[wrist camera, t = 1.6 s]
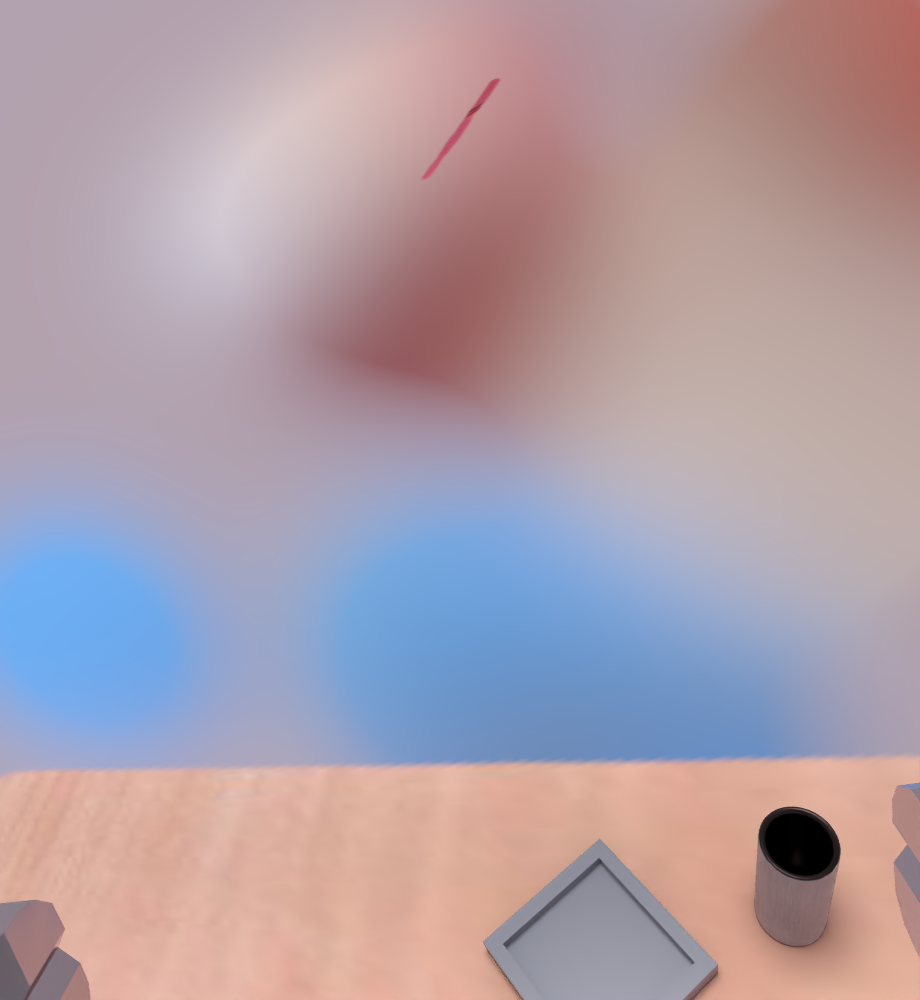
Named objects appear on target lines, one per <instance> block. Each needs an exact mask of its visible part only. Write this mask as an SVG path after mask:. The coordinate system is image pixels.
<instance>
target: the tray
mask: <svg viewBox="0 0 920 1000" xmlns="http://www.w3.org/2000/svg"><path fill="white" fill-rule="evenodd" d="M483 943H484V945H485V947H486V949H487V950H488V952H489V953H490V955H491V956H492V957H493V959H494V960H495V962H496V963H497V965H498V966H499V967H500V969H501V970H502V972H503V973H504V974H505V976H506V977H507V979H508V980H509V981H510V983H511V984H512V986H513V987H514V988H515V990H516V991H517V993H518V994H519V995H520V997H521V998H522V1000H692V999H693V998H694V997H695V995H696V994H697V993H698V992H699V991H700V990H701V989H702V988H703V987H704V986H705V985H706V984H707V983H708V982H709V981H710V980H711V979H712V978H713V977H714V976H715V975H716V974H717V973H718V964H717V963H716V962H715V961H714V960H713V959H712V958H711V957H710V956H709V955H708V954H707V953H706V951H705V950H704V949H703V948H702V947H701V946H700V945H699V944H698V943H697V942H696V941H695V940H694V939H693V938H692V937H691V935H690V934H689V933H688V932H687V931H686V930H685V929H684V928H683V927H682V926H681V925H680V924H679V923H678V922H677V920H676V919H675V918H674V917H673V916H672V915H671V914H670V913H669V912H668V911H667V910H666V909H665V908H664V907H663V906H662V904H661V903H660V902H659V901H658V900H657V899H656V898H655V897H654V896H653V895H652V894H651V893H650V892H649V891H648V890H647V888H646V887H645V886H644V885H643V884H642V883H641V882H640V881H639V880H638V879H637V878H636V877H635V876H634V875H633V874H632V872H631V871H630V870H629V869H628V868H627V867H626V866H625V865H624V864H623V863H622V862H621V861H620V860H619V859H618V858H617V856H616V855H615V854H614V853H613V852H612V851H611V850H610V849H609V848H608V847H607V846H606V845H605V844H604V843H603V842H602V840H601V839H599V840H598V841H597V842H595V843H594V844H593V845H592V846H591V847H590V848H589V849H587V850H586V851H585V852H584V853H583V854H582V855H581V856H580V857H578V858H577V859H576V860H575V861H574V862H573V863H572V864H570V865H569V866H568V867H567V868H566V869H565V870H564V871H563V872H561V873H560V874H559V875H558V876H557V877H556V878H555V879H554V880H552V881H551V882H550V883H549V884H548V885H547V886H546V887H544V888H543V889H542V890H541V891H540V892H539V893H538V894H537V895H535V896H534V897H533V898H532V899H531V900H530V901H529V902H527V903H526V904H525V905H524V906H523V907H522V908H521V909H520V910H518V911H517V912H516V913H515V914H514V915H513V916H512V917H510V918H509V919H508V920H507V921H506V922H505V923H504V924H503V925H501V926H500V927H499V928H498V929H497V930H496V931H495V932H493V933H492V934H491V935H490V936H489V937H488V938H487V939H486V940H484V941H483Z"/></svg>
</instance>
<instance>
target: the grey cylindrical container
mask: <svg viewBox="0 0 920 1000" xmlns="http://www.w3.org/2000/svg"><path fill="white" fill-rule="evenodd" d="M840 854H841V848H840V843H839V839H838V837H837V835H836V833H835V831H834V830H833V828H832V827H831V826H830V824H829V823H828V822H827V821H826V820H825V819H823V818H822V817H821V816H819V815H818V814H816V813H814V812H812V811H810V810H807V809H804V808H800V807H783V808H779V809H777V810H775V811H773V812H771V813H770V814H769V815H767V816H766V817H765V819H764V820H763V822H762V823H761V826H760V829H759V834H758V848H757V865H756V882H755V900H754V902H755V912H756V916H757V918H758V921H759V922H760V924H761V926H762V927H763V929H764V930H765V931H766V932H767V933H768V934H769V935H770V936H771V937H772V938H774V939H775V940H777V941H779V942H781V943H783V944H786V945H789V946H806V945H809V944H811V943H813V942H815V941H816V940H817V939H818V938H819V937H820V936H821V935H822V933H823V931H824V929H825V926H826V923H827V918H828V914H829V909H830V904H831V899H832V894H833V890H834V885H835V880H836V875H837V871H838V866H839V861H840Z"/></svg>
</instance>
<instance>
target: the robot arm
mask: <svg viewBox="0 0 920 1000" xmlns="http://www.w3.org/2000/svg"><path fill="white" fill-rule="evenodd" d="M892 808H893V824H894V825H895V827H896V828H897V830H898V831H899V833H900V834H901V836H902V837H903V839H904V840H905V842H906V843H907V846H906V847H905V848H904V850H903V851H902V852H901V853H900V855H899V856H898V857H897V859H896V860H895V861H894V873H895V887H896V895H897V899H898V902H899V906H900V910H901V913H902V917H903V921H904V924H905V927H906V929H907V931H908V934H909V936H910V938H911V940H912V943H913V945H914V947H915V949H916V951H917V953H918V955H919V957H920V783H914V784H907V785H899V786H897V787H896V790H895V793H894V796H893V799H892ZM64 930H65V928H64V926H63V924H62V922H61V920H60V918H59V916H58V914H57V912H56V910H55V908H54V906H53V904H52V903H49V902H44V901H39V900H29V901H20V902H10V903H1V904H0V1000H90V992H89V983H88V980H87V978H86V975H85V973H84V971H83V968H82V966H81V964H80V962H78V961H77V960H75V959H74V958H72V957H71V956H70V955H68V954H67V953H65V952H64V951H63V950H61V949H60V948H58V946H59V944H60V941H61V938H62V935H63V933H64Z"/></svg>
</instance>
